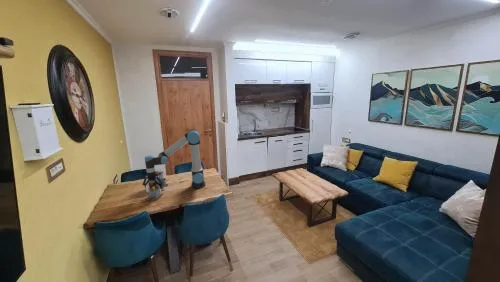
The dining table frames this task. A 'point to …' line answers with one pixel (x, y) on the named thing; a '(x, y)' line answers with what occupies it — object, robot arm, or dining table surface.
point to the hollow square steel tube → (153, 193)
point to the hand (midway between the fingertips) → (154, 191)
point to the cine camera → (158, 173)
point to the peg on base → (154, 198)
